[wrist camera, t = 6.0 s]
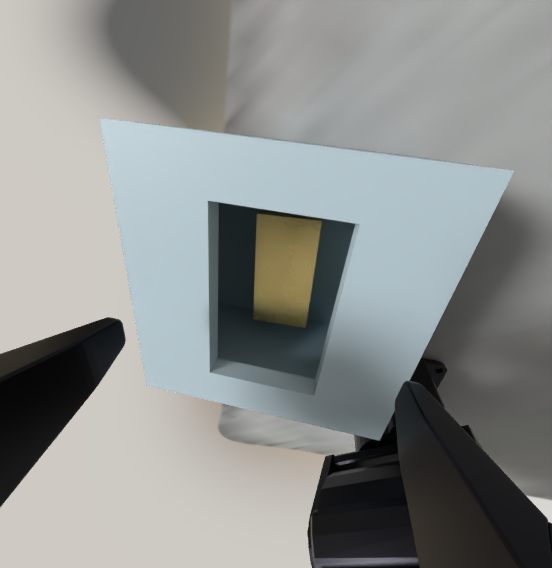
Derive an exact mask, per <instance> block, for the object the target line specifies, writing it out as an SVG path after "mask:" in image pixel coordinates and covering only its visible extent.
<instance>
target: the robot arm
mask: <svg viewBox="0 0 552 568" xmlns="http://www.w3.org/2000/svg"><path fill="white" fill-rule="evenodd" d="M124 344H125V333H124V329H123V324H122V322H121V321H120V320H119V319H115V318H109V317H108V318H104V319H101V320H98V321H95V322H92V323H90V324H87V325H84V326H81V327H78V328H75V329H72V330H69V331H66V332H63V333H60V334H57V335H54V336H52V337H49V338H46V339H43V340H40V341H37V342H34V343H31V344H28V345H25V346H22V347H20V348H17V349H14V350H11V351H8V352H5V353H2V354H0V507H1V506H2V505H3V503H4V502H5V501H6V499H7V498H8V497H9V496H10V495H11V493H12V492H13V491H14V490H15V488H16V487H17V486H18V485H19V483H20V482H21V481H22V479H23V478H24V477H25V476H26V475H27V473H28V472H29V471H30V470H31V468H32V467H33V466H34V465H35V463H36V462H37V461H38V460H39V458H40V457H41V456H42V455H43V453H44V452H45V451H46V450H47V448H48V447H49V446H50V445H51V444H52V442H53V441H54V440H55V439H56V437H57V436H58V435H59V434H60V432H61V431H62V430H63V429H64V427H65V426H66V425H67V424H68V422H69V421H70V420H71V419H72V417H73V416H74V415H75V414H76V412H77V411H78V410H79V409H80V407H81V406H82V405H83V404H84V402H85V401H86V400H87V399H88V397H89V396H90V395H91V394H92V392H93V391H94V390H95V388H96V387H97V386H98V384H99V383H100V381H101V380H102V378H103V377H104V375H105V374H106V372H107V371H108V369H109V368H110V366H111V365H112V363H113V362H114V360H115V358H116V357H117V356H118V354H119V353H120V351H121V350H122V348H123V346H124ZM438 368H440V369H438ZM446 372H447V369H446V367H445V365H444V364H443V363H442V362H439V361H434V360H429V359H424V358H421V359H420V361H419V363H418V365H417V367H416V369H415V371H414V373H413V375H412V377H411V379H410V381H405V382H404V383H403V385H402V387H401V389H400V391H399V393H398V395H397V397H396V399H395V411H394V413H393V415H392V417H391V419H390V421H389V423H388V425H387V427H386V429H385V431H384V433H383V435H382V437H381V439H380V441H379V440H374V439H370V438H366V437H362V436H358V435H354V436H355V448H356V451H355V452H351V453H346V454H341V455H337V456H335V455H329V456H326V457H325V460H324V464H323V468H322V471H321V475H320V479H319V483H318V487H317V491H316V495H315V499H314V502H313V507H312V510H311V514H310V519H309V527H308V541H309V542H308V544H309V553H310V561H311V565H312V568H552V523H549V522H548V519H547V518H546V517H545V516H544V515H543V513H542V512H541V511H540V510H539V509H538V508H537V507H536V506H535V505H534V504H533V503H532V502H531V501H530V500H529V499H528V497H527V496H526V495H525V494H524V493H523V492H522V491H521V490H520V489H519V488H518V487H517V486H516V485H515V484H514V483H513V481H512V480H511V479H510V478H509V477H508V476H507V475H506V474H505V473H504V472H503V471H502V470H501V469H500V468H499V467H498V465H497V464H496V463H495V462H494V461H493V460H492V459H491V458H490V457H489V456H488V455H487V454H486V453H485V452H484V450H483V449H482V447H481V445H480V444H479V442H478V440H477V439H476V437H475V435H474V434H473V432H472V430H471V428H470V427H469V425H465V426H460V425H459V424H458V423H457V422H456V421H455V420H454V418H453V417H452V416H451V415H450V414H449V413H448V412H447V411H446V410H445V409H444V404H443V402H442V400H441V397H440V395H439V393H438V390H437V388H438V386H439V384H440V382H441V381H442V379H443V377H444V376H445V374H446Z"/></svg>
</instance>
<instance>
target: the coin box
mask: <svg viewBox="0 0 552 568" xmlns="http://www.w3.org/2000/svg"><path fill="white" fill-rule="evenodd" d="M100 123H101V129H102V134H103V140H104V146H105V152H106V157H107V163H108V169H109V174H110V180H111V186H112V191H113V197H114V203H115V209H116V214H117V220H118V226H119V231H120V237H121V242H122V249H123V254H124V260H125V265H126V271H127V277H128V283H129V288H130V294H131V300H132V306H133V311H134V317H135V323H136V328H137V334H138V340H139V345H140V351H141V357H142V363H143V368H144V374H145V380H146V385H147V386H151V387H155V388H159V389H164V390H168V391H172V392H176V393H180V394H185V395H189V396H193V397H197V398H202V399H207V400H210V401H214V402H219V403H223V404H227V405H231V406H235V407H240V408H244V409H248V410H252V411H256V412H261V413H265V414H269V415H273V416H277V417H282V418H286V419H290V420H294V421H299V422H303V423H307V424H311V425H315V426H320V427H324V428H328V429H332V430H336V431H341V432H345V433H349V434H353V435H358V436H362V437H366V438H370V439H374V440H379V441H380V439H381V437H382V435H383V433H384V431H385V429H386V427H387V425H388V423H389V421H390V419H391V417H392V415H393V413H394V411H395V399H396V397H397V395H398V393H399V391H400V389H401V387H402V385H403V383H404V382H405V381H410V379H411V377H412V375H413V373H414V371H415V369H416V367H417V365H418V363H419V361H420V359H421V357H422V355H423V353H424V351H425V349H426V347H427V345H428V343H429V341H430V339H431V337H432V335H433V333H434V331H435V329H436V327H437V325H438V323H439V321H440V319H441V317H442V315H443V313H444V311H445V309H446V307H447V305H448V303H449V301H450V299H451V297H452V295H453V293H454V291H455V289H456V287H457V285H458V283H459V281H460V279H461V277H462V275H463V273H464V271H465V269H466V267H467V265H468V263H469V261H470V259H471V257H472V255H473V253H474V251H475V249H476V247H477V245H478V243H479V241H480V239H481V237H482V235H483V233H484V231H485V229H486V227H487V225H488V223H489V221H490V219H491V217H492V215H493V213H494V211H495V209H496V207H497V205H498V203H499V201H500V199H501V197H502V195H503V193H504V191H505V189H506V187H507V185H508V183H509V181H510V179H511V177H512V175H513V173H514V171H512V170H505V169H498V168H491V167H484V166H476V165H469V164H462V163H455V162H448V161H441V160H434V159H427V158H419V157H411V156H404V155H396V154H388V153H380V152H372V151H364V150H356V149H348V148H341V147H333V146H325V145H317V144H309V143H301V142H293V141H286V140H278V139H270V138H262V137H254V136H246V135H238V134H230V133H223V132H215V131H207V130H198V129H190V128H181V127H173V126H164V125H156V124H147V123H138V122H130V121H121V120H112V119H104V118H100ZM261 209H265V210H271V211H278V212H284V213H291V214H297V215H304V216H310V217H316V218H322V224H321V230H320V237H319V244H318V250H317V257H316V264H315V270H314V277H313V283H312V290H311V297H310V303H309V310H308V317H307V323H306V328H302V327H296V326H290V325H284V324H278V323H271V322H265V321H259V320H253V311H254V282H255V252H256V223H257V213H258V212H259V211H260V210H261Z"/></svg>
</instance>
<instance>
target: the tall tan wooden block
mask: <svg viewBox="0 0 552 568" xmlns="http://www.w3.org/2000/svg"><path fill="white" fill-rule="evenodd" d="M321 224H322V218H316V217H310V216H304V215H297V214H291V213H284V212H278V211H271V210H265V209H261V210H260V211H259V212H258V213H257V223H256V252H255V282H254V311H253V320H259V321H265V322H271V323H278V324H284V325H290V326H296V327H302V328H306V323H307V317H308V310H309V303H310V297H311V290H312V283H313V277H314V270H315V264H316V257H317V250H318V244H319V237H320V230H321Z"/></svg>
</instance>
